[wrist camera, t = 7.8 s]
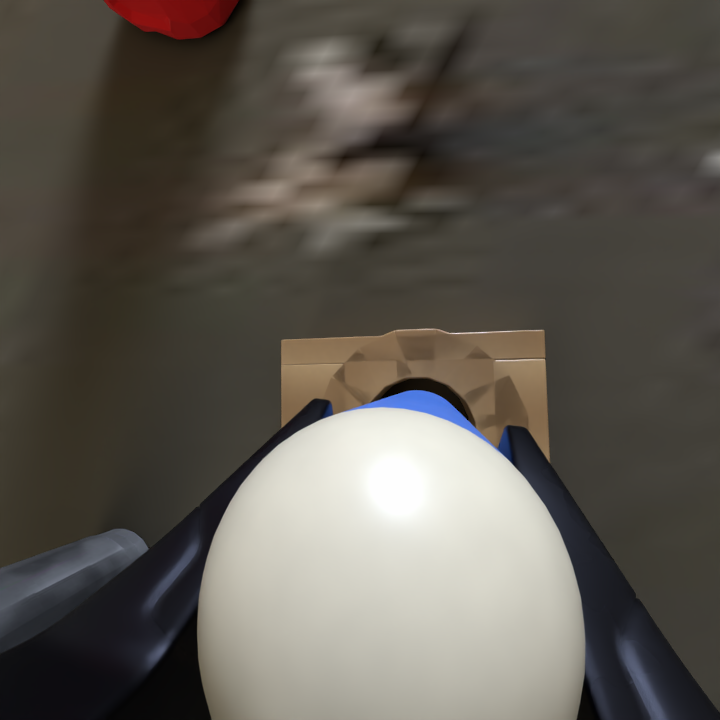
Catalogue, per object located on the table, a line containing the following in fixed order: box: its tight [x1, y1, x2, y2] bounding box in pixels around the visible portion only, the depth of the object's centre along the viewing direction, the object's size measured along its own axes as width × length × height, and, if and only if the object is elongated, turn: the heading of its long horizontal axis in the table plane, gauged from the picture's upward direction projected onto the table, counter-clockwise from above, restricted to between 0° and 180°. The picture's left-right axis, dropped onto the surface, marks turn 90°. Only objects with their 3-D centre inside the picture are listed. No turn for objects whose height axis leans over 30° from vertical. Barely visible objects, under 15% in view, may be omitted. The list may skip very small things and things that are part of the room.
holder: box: [281, 329, 550, 462], centre depth 18 cm, size 13×12×3 cm
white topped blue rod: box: [197, 390, 585, 720], centre depth 9 cm, size 4×4×14 cm
